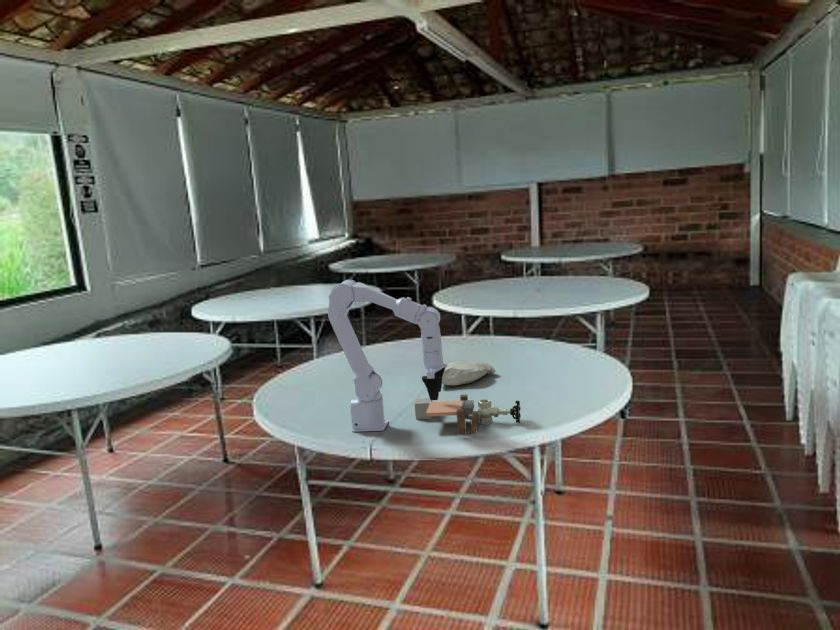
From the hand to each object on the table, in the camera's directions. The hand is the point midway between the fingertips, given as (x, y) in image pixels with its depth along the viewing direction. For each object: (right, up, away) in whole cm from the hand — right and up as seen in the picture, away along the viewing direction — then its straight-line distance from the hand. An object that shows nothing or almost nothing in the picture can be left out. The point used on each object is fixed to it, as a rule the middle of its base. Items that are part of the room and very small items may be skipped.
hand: (435, 395), depth 190 cm
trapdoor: (+4, -5, 0) cm, 6 cm away
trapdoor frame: (+10, -8, 0) cm, 13 cm away
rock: (+10, 0, +45) cm, 46 cm away
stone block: (-3, -8, +10) cm, 13 cm away
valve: (+18, -8, 0) cm, 20 cm away
